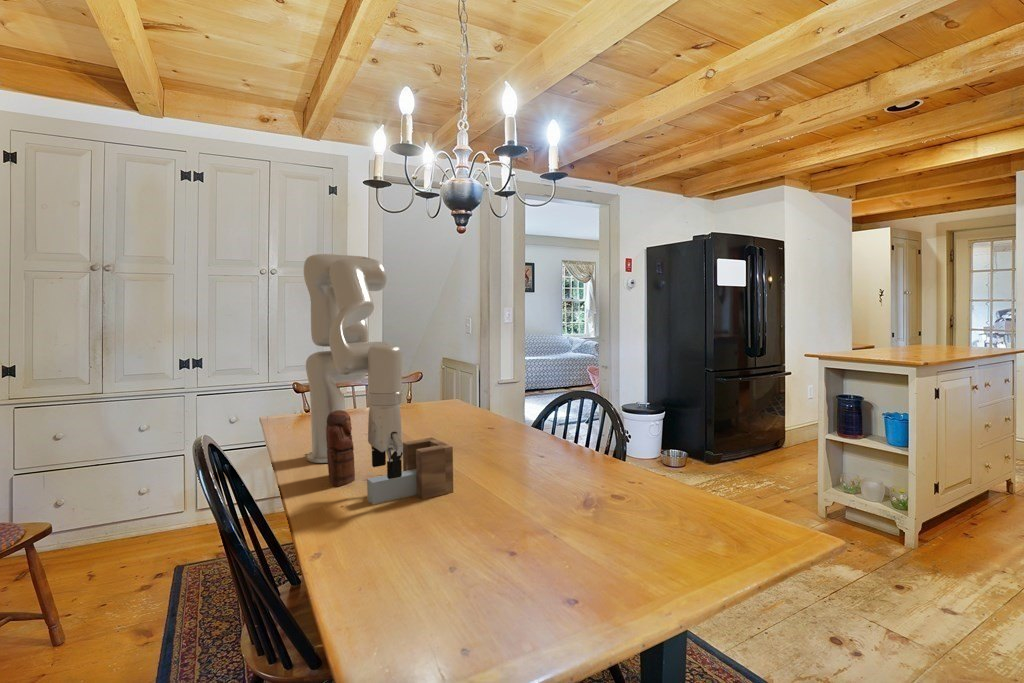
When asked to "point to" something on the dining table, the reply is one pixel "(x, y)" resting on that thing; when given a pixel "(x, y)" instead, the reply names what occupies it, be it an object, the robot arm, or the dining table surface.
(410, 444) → the brown wooden u-shaped block
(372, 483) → the rail
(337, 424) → the wooden figurine
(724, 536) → the dining table surface
